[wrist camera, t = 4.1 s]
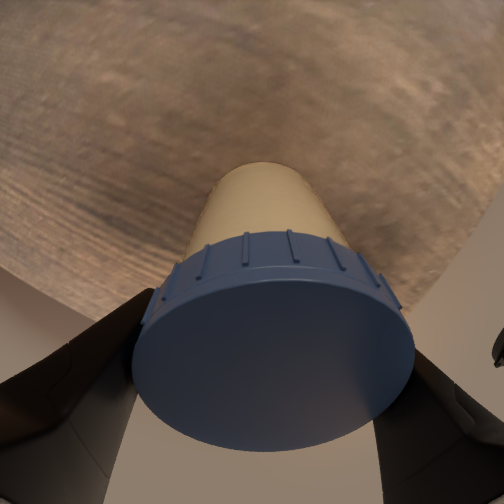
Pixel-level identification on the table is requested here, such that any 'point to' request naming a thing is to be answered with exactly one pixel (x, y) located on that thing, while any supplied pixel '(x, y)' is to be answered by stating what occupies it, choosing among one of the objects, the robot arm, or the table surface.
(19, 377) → the robot arm
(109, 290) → the table surface
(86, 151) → the table surface
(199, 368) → the lid
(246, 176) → the jar
